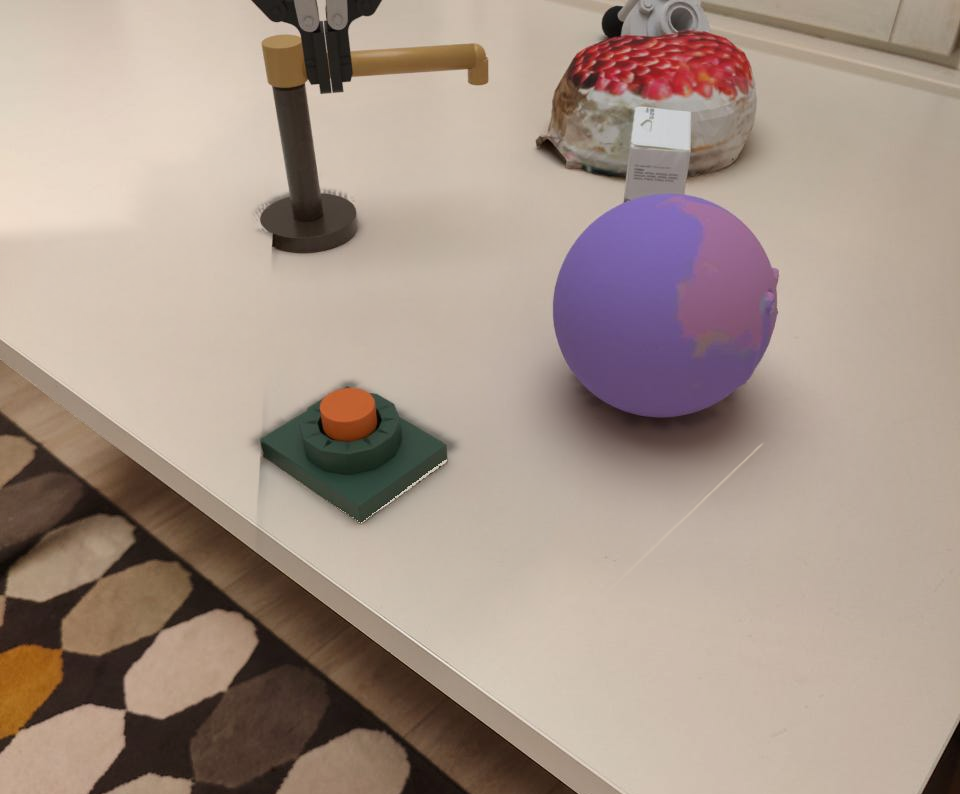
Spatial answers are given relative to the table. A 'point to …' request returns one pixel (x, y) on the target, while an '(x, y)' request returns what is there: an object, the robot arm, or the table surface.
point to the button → (348, 414)
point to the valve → (654, 18)
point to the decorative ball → (665, 305)
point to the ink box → (658, 153)
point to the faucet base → (304, 186)
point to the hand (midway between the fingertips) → (332, 88)
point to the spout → (375, 61)
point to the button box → (354, 458)
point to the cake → (653, 99)
